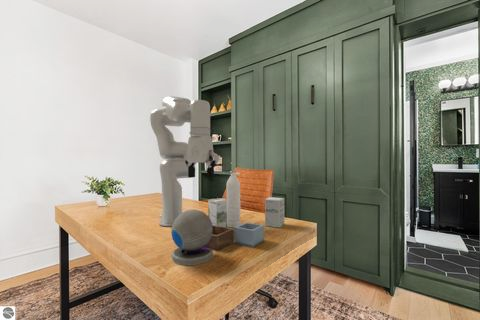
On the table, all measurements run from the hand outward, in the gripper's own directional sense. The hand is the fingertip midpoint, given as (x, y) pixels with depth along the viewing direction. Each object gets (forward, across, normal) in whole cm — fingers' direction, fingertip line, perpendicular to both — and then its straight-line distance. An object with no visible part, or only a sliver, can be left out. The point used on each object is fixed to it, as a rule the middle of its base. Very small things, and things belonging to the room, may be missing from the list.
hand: (200, 177), depth 90 cm
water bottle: (+24, -1, +24) cm, 35 cm away
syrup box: (+24, 0, +10) cm, 27 cm away
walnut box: (+24, +6, 0) cm, 25 cm away
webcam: (+24, +8, -12) cm, 28 cm away
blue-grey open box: (+24, +17, +8) cm, 30 cm away
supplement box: (+24, +15, +34) cm, 45 cm away
